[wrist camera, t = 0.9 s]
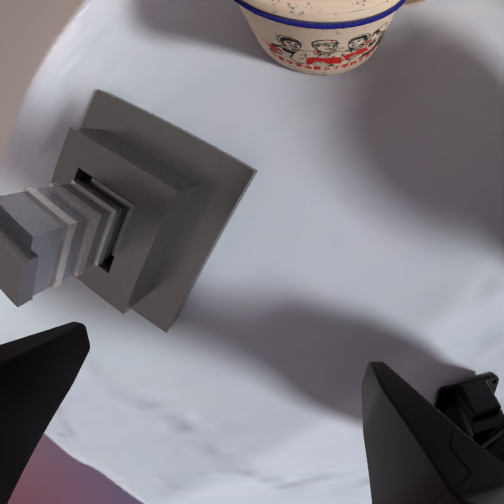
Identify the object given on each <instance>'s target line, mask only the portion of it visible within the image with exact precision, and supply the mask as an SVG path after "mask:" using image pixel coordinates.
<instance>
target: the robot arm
mask: <svg viewBox="0 0 504 504" xmlns="http://www.w3.org/2000/svg"><path fill="white" fill-rule="evenodd" d="M89 350H90V343H89V339H88V335H87V330H86V327H85V325H84V324H82V323H78V322H71V323H68V324H65V325H62V326H59V327H55V328H52V329H49V330H46V331H43V332H40V333H37V334H33V335H30V336H27V337H24V338H21V339H18V340H14V341H11V342H8V343H5V344H2V345H0V504H7V503H8V501H9V499H10V497H11V495H12V492H13V491H14V489H15V487H16V484H17V483H18V481H19V479H20V477H21V474H22V472H23V470H24V468H25V466H26V465H27V463H28V461H29V459H30V457H31V455H32V453H33V452H34V450H35V448H36V446H37V444H38V442H39V441H40V439H41V437H42V435H43V433H44V432H45V430H46V428H47V426H48V425H49V423H50V421H51V420H52V418H53V416H54V414H55V413H56V411H57V409H58V408H59V406H60V404H61V403H62V401H63V399H64V398H65V396H66V394H67V393H68V391H69V390H70V388H71V386H72V384H73V382H74V381H75V379H76V376H77V374H78V372H79V370H80V368H81V366H82V364H83V362H84V360H85V358H86V356H87V354H88V352H89ZM498 381H499V378H498V377H497V375H492V376H489V377H485V378H481V379H477V380H473V381H469V382H465V383H461V384H456V385H452V386H447V387H443V388H440V389H439V390H438V391H437V395H436V399H435V403H434V406H433V405H432V404H431V403H430V402H428V401H427V400H426V399H425V398H424V397H423V396H422V395H421V394H419V393H418V392H417V391H416V390H415V389H414V388H413V387H411V386H410V385H409V384H408V383H407V382H406V381H405V380H403V379H402V378H401V377H400V376H399V375H398V374H397V373H395V372H394V371H393V370H392V369H391V368H390V367H389V366H388V365H386V364H385V363H384V362H381V361H371V362H370V363H369V364H368V366H367V370H366V373H365V376H364V380H363V383H362V408H363V434H364V442H365V449H366V456H367V463H368V471H369V479H370V488H371V497H372V504H504V414H503V412H502V410H501V405H500V403H499V402H498V400H497V398H496V396H495V395H494V393H495V390H496V387H497V384H498ZM443 392H444V393H443Z"/></svg>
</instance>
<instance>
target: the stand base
mask: <svg viewBox="0 0 504 504" xmlns="http://www.w3.org/2000/svg"><path fill="white" fill-rule="evenodd" d="M256 173H257V170H256V169H254V168H252V167H250V166H249V165H247V164H245V163H243V162H242V161H240V160H238V159H236V158H235V157H233V156H231V155H229V154H227V153H226V152H224V151H222V150H220V149H218V148H217V147H215V146H213V145H211V144H209V143H208V142H206V141H204V140H202V139H200V138H198V137H196V136H194V135H193V134H191V133H189V132H187V131H185V130H183V129H181V128H179V127H177V126H175V125H173V124H172V123H170V122H168V121H166V120H164V119H162V118H160V117H158V116H156V115H154V114H152V113H150V112H148V111H146V110H144V109H142V108H140V107H137V106H135V105H133V104H131V103H129V102H127V101H125V100H123V99H121V98H119V97H116V96H114V95H112V94H110V93H108V92H106V91H102V90H97V92H96V95H95V97H94V99H93V101H92V103H91V106H90V108H89V110H88V112H87V115H86V117H85V120H84V122H83V124H82V127H81V128H76V127H70V129H69V132H68V134H67V137H66V140H65V142H64V145H63V148H62V151H61V154H60V157H59V160H58V163H57V166H56V169H55V172H54V175H53V179H52V182H51V183H55V182H57V183H58V184H60V185H65V184H71V182H72V180H76V179H79V180H80V181H82V182H85V181H91V178H92V177H93V178H95V179H96V180H98V181H99V182H101V183H102V184H104V185H105V186H107V187H108V188H110V189H111V190H113V191H114V192H116V193H118V194H119V195H121V196H122V197H124V198H125V199H127V200H128V201H130V202H131V203H133V204H134V205H135V206H134V208H133V210H132V213H131V215H130V218H129V220H128V223H127V225H126V228H125V230H124V233H123V235H122V238H121V241H120V243H119V246H118V249H117V251H116V254H115V257H114V256H112V255H111V256H108V257H106V258H104V260H103V263H102V264H100V265H98V266H96V265H95V264H92V265H90V266H88V267H87V268H85V269H84V272H83V274H81V275H79V276H77V278H78V279H79V280H80V281H82V282H83V283H84V284H85V285H87V286H88V287H89V288H90V289H92V290H93V291H94V292H95V293H97V294H98V295H99V296H101V297H102V298H103V299H104V300H106V301H107V302H108V303H110V304H111V305H112V306H114V307H115V308H116V309H118V310H119V311H120V312H122V313H123V314H124V313H125V312H127V311H128V310H129V309H130V308H132V309H133V310H135V311H136V312H137V313H139V314H140V315H142V316H143V317H145V318H146V319H147V320H149V321H150V322H152V323H153V324H155V325H156V326H158V327H159V328H161V329H162V330H163V331H165V332H166V333H167V332H168V331H169V329H170V328H171V327H172V325H173V323H174V322H175V320H176V318H177V316H178V314H179V312H180V310H181V308H182V306H183V304H184V302H185V301H186V299H187V297H188V295H189V293H190V291H191V289H192V287H193V286H194V284H195V282H196V280H197V278H198V276H199V274H200V273H201V271H202V269H203V267H204V265H205V263H206V262H207V260H208V258H209V256H210V254H211V252H212V251H213V249H214V247H215V245H216V243H217V241H218V240H219V238H220V236H221V234H222V232H223V231H224V229H225V227H226V225H227V223H228V222H229V220H230V218H231V216H232V215H233V213H234V211H235V209H236V207H237V206H238V204H239V202H240V200H241V199H242V197H243V195H244V193H245V192H246V190H247V188H248V186H249V185H250V183H251V181H252V179H253V178H254V176H255V174H256ZM73 275H74V274H73ZM74 276H75V275H74Z"/></svg>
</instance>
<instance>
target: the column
mask: <svg viewBox="0 0 504 504" xmlns="http://www.w3.org/2000/svg"><path fill="white" fill-rule="evenodd" d="M134 206H135V205H134V204H133V203H131V202H130V201H128V200H127V199H125V198H124V197H122V196H121V195H119V194H118V193H116V192H114V191H113V190H111V189H110V188H108V187H107V186H105V185H104V184H102V183H101V182H99V181H98V180H96V179H95V178H93V177H92V178H91V181H85V182H82V181H80V180H79V179H76V180H72V182H71V184H65V185H60V184H58V183H57V182H55V183H50V184H49V187H47V188H41V189H35V188H34V187H33V186H30V187H25V188H24V191H23V192H20V193H15V194H10V195H5V196H0V289H1V290H2V291H3V292H4V293H5V295H6V296H7V297H8V298H9V299H10V300H11V301H12V302H13V303H14V304H15V305H16V306H17V307H19V306H21V305H23V304H24V303H26V302H28V301H30V300H32V297H33V295H35V294H37V293H39V292H41V291H43V290H44V289H46V288H48V287H50V286H51V287H52V288H53V289H55V288H57V287H58V286H60V285H61V283H62V280H63V279H65V278H67V277H69V276H71V275H73V274H74V275H75V276H76V277H77V276H79V275H81V274H83V272H84V269H85V268H87V267H88V266H90V265H92V264H95V265H96V266H98V265H100V264H102V263H103V260H104V258H106V257H108V256H111V255H112V256H114V257H115V254H116V251H117V249H118V246H119V243H120V241H121V238H122V235H123V233H124V230H125V228H126V225H127V223H128V220H129V218H130V215H131V213H132V210H133V208H134Z"/></svg>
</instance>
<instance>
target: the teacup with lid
mask: <svg viewBox="0 0 504 504" xmlns="http://www.w3.org/2000/svg"><path fill="white" fill-rule="evenodd" d="M234 1H235V2H237V3H238V5H239V7H240V9H241V10H242V12H243V14H244V16H245V18H246V19H247V21H248V23H249V25H250V27H251V29H252V31H253V32H254V34H255V36H256V38H257V40H258V42H259V43H260V45H261V46H262V48H263V49H264V50H265V51H266V52H267V54H268V55H270V56H271V57H272V58H273V59H274V60H276V61H277V62H279V63H280V64H282V65H284V66H286V67H288V68H290V69H292V70H295V71H298V72H301V73H306V74H311V75H335V74H340V73H344V72H347V71H350V70H352V69H354V68H356V67H358V66H360V65H361V64H363V63H364V62H365V61H367V60H368V59H369V58H370V57H371V56H372V54H373V53H374V52H375V50H376V49H377V47H378V45H379V43H380V41H381V39H382V37H383V35H384V33H385V31H386V29H387V27H388V25H389V23H390V21H391V19H392V17H393V15H394V13H395V11H396V10H397V9H398V8H400V7H406V6H412V5H416V4H419V3H422V2H425V1H427V0H234Z"/></svg>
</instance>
